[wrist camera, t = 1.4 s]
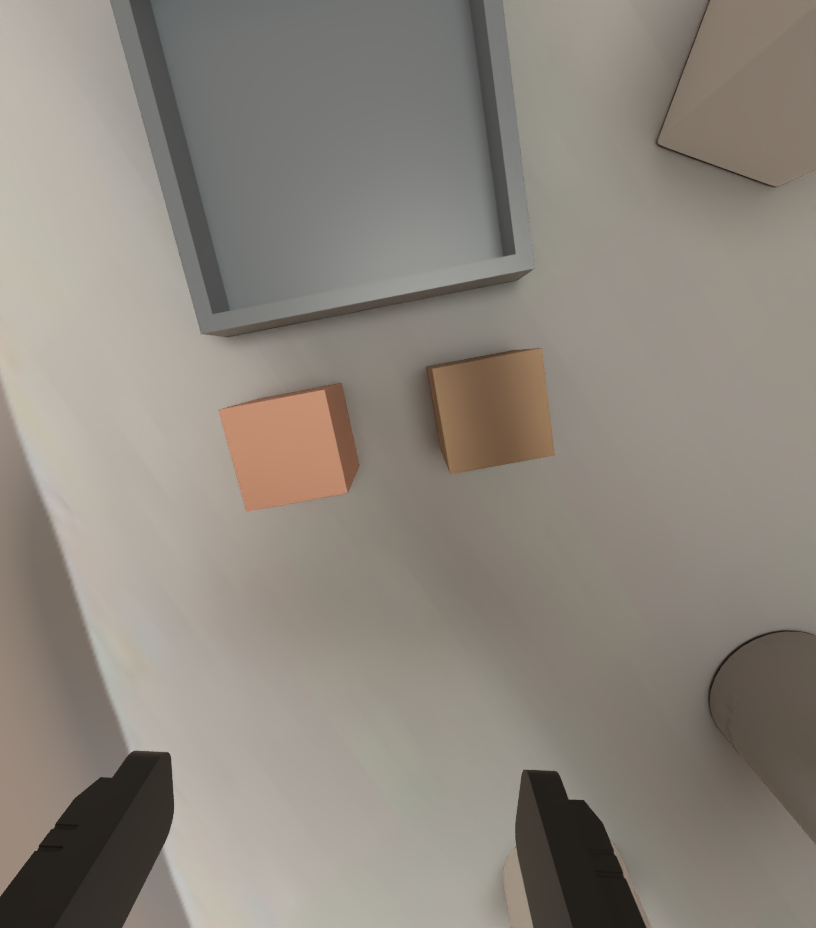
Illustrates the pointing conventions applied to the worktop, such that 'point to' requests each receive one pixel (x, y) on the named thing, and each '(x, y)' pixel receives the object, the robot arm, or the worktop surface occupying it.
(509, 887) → the cylinder with rectangular tab
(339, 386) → the terracotta block
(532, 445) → the walnut block
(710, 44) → the milk carton
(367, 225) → the tray
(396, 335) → the worktop surface
